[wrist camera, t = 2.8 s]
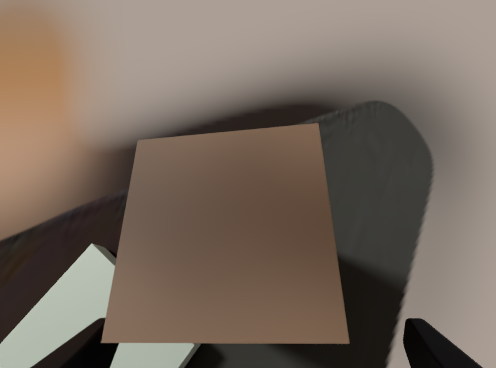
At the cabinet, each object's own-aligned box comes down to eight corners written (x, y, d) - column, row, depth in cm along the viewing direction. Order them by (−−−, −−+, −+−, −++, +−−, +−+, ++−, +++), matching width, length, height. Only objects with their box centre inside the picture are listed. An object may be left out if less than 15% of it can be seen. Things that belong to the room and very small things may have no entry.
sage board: (202, 342, 17) (194, 345, 16) (81, 512, 15) (59, 532, 13) (104, 247, 21) (91, 243, 19) (-6, 371, 18) (-30, 376, 17)
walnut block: (309, 319, 17) (349, 343, 5) (229, 320, 17) (100, 342, 6) (301, 238, 19) (318, 122, 7) (230, 241, 20) (137, 140, 8)
